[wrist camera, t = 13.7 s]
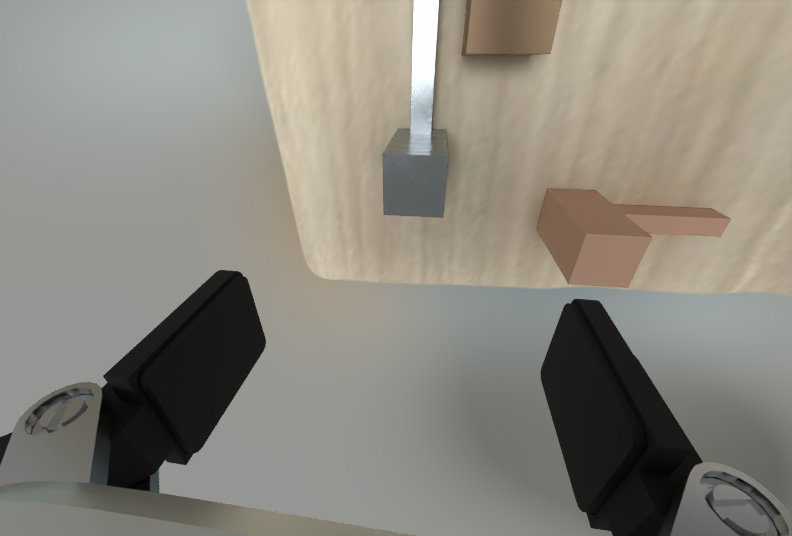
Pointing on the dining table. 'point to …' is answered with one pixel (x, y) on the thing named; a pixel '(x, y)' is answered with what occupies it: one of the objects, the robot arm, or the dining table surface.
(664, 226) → the salmon l-shaped piece
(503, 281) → the dining table surface
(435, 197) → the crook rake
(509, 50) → the walnut block
